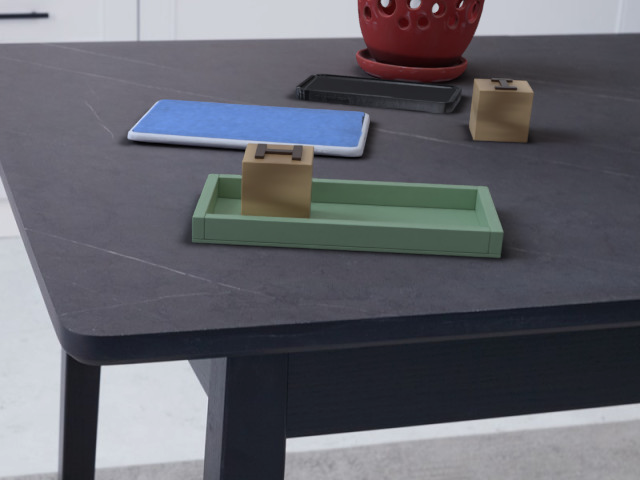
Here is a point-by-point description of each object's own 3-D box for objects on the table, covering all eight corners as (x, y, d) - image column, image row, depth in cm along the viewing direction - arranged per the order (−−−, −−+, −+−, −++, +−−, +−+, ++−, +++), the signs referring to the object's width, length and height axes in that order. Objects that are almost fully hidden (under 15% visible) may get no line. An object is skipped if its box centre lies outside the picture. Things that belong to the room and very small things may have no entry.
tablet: (370, 124, 103) (371, 109, 102) (361, 163, 92) (362, 146, 91) (158, 112, 105) (157, 97, 105) (124, 148, 94) (124, 132, 94)
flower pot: (403, 95, 113) (414, -34, 108) (327, 69, 123) (334, -50, 118) (503, 82, 119) (519, -40, 114) (423, 59, 129) (434, -55, 124)
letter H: (310, 210, 80) (314, 142, 77) (308, 231, 76) (312, 161, 73) (246, 206, 80) (247, 139, 78) (240, 228, 76) (242, 158, 74)
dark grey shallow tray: (314, 72, 116) (463, 85, 112) (313, 84, 116) (462, 97, 112) (292, 89, 109) (451, 103, 105) (292, 101, 110) (450, 115, 106)
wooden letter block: (519, 132, 102) (527, 78, 99) (526, 145, 98) (534, 89, 95) (468, 130, 102) (474, 76, 100) (473, 143, 98) (479, 87, 96)
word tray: (484, 213, 81) (487, 186, 80) (499, 262, 73) (504, 231, 72) (208, 200, 83) (208, 173, 82) (191, 246, 74) (191, 216, 73)
